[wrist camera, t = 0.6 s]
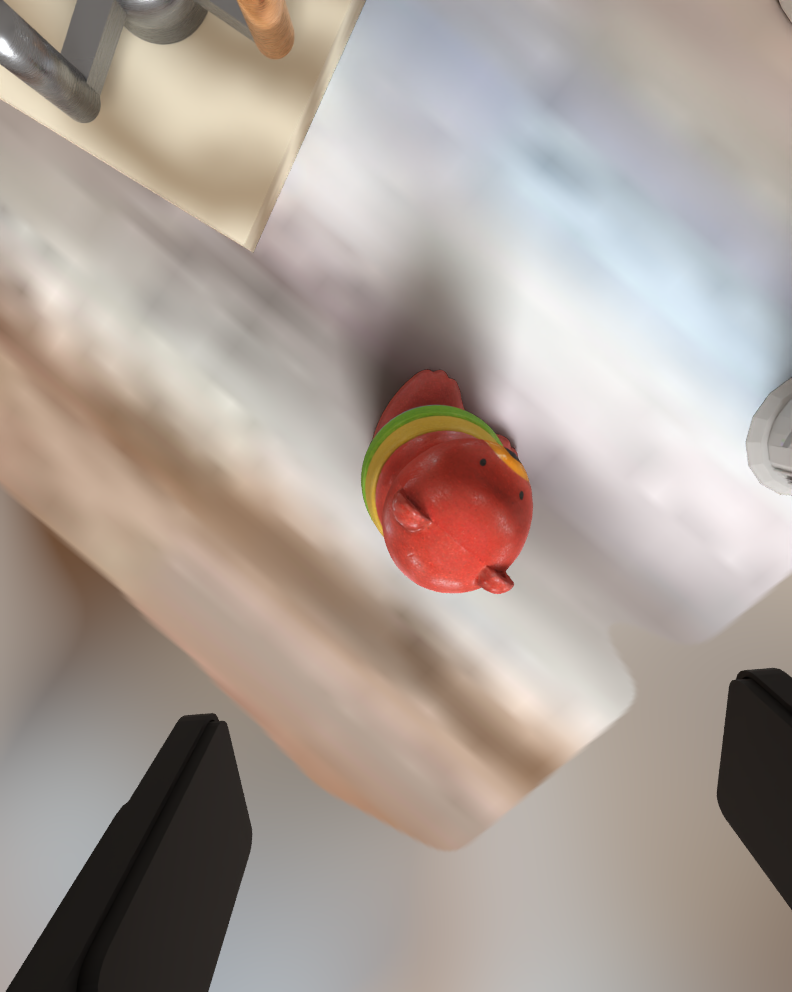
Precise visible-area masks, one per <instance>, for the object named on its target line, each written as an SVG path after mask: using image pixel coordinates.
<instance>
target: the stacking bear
mask: <svg viewBox="0 0 792 992" xmlns="http://www.w3.org/2000/svg"><path fill="white" fill-rule="evenodd" d="M361 487H362V494H363V498H364V502H365V505H366V508H367V511H368V513H369V515H370V517H371V519H372V521H373V522H374V524H375V525H376V527H377V529H378V530H379V532H380V533H381V534H382V536H383V537H384V539H385V543H386V546H387V549H388V551H389V553H390V556H391V558H392V559H393V561H394V563H395V564H396V566H397V567H398V568H399V569H400V570H401V571H402V572H403V573H404V575H405V576H407V577H408V578H409V579H410V580H412V581H413V582H415V583H416V584H418V585H420V586H422V587H424V588H427V589H429V590H433V591H436V592H441V593H463V592H469V591H473V590H476V589H479V588H481V587H482V588H483V589H484V590H486V591H489V592H491V593H494V594H501V593H504V592H507V591H509V590H510V589H512V587H513V586H514V582H513V581H512V580H511V579H510V577H509V576H508V575H507V573H506V570H507V569H508V568H509V566H510V565H511V564H512V563H513V562H514V560H515V559H516V558H517V556H518V555H519V554H520V552H521V550H522V548H523V546H524V543H525V541H526V539H527V536H528V533H529V529H530V525H531V520H532V512H533V502H532V491H531V486H530V483H529V479H528V476H527V473H526V471H525V469H524V467H523V465H522V463H521V462H520V461H519V459H518V454H517V452H516V450H515V449H514V448H512V447H511V445H510V442H509V440H508V439H507V438H506V437H504V436H502V435H499V434H495V433H494V431H493V430H492V429H491V428H490V427H489V426H488V425H487V424H486V423H485V422H484V421H482V420H481V419H480V418H478V417H477V416H475V415H473V414H471V413H469V412H467V411H465V409H464V407H463V403H462V399H461V393H460V389H459V387H458V384H457V382H456V381H455V380H454V379H451V378H448V376H447V374H446V372H444V371H442V370H437V371H434V372H432V371H431V370H423V371H420V372H418V373H417V374H415V375H414V376H413V377H412V378H411V379H410V380H408V381H407V382H406V383H405V384H404V385H403V386H402V387H401V388H400V389H399V391H398V392H397V393H396V394H395V395H394V397H393V398H392V399H391V401H390V402H389V404H388V405H387V407H386V409H385V410H384V412H383V414H382V416H381V418H380V420H379V422H378V425H377V427H376V430H375V433H374V437H373V440H372V442H371V444H370V446H369V448H368V450H367V452H366V455H365V458H364V461H363V466H362V473H361Z"/></svg>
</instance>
